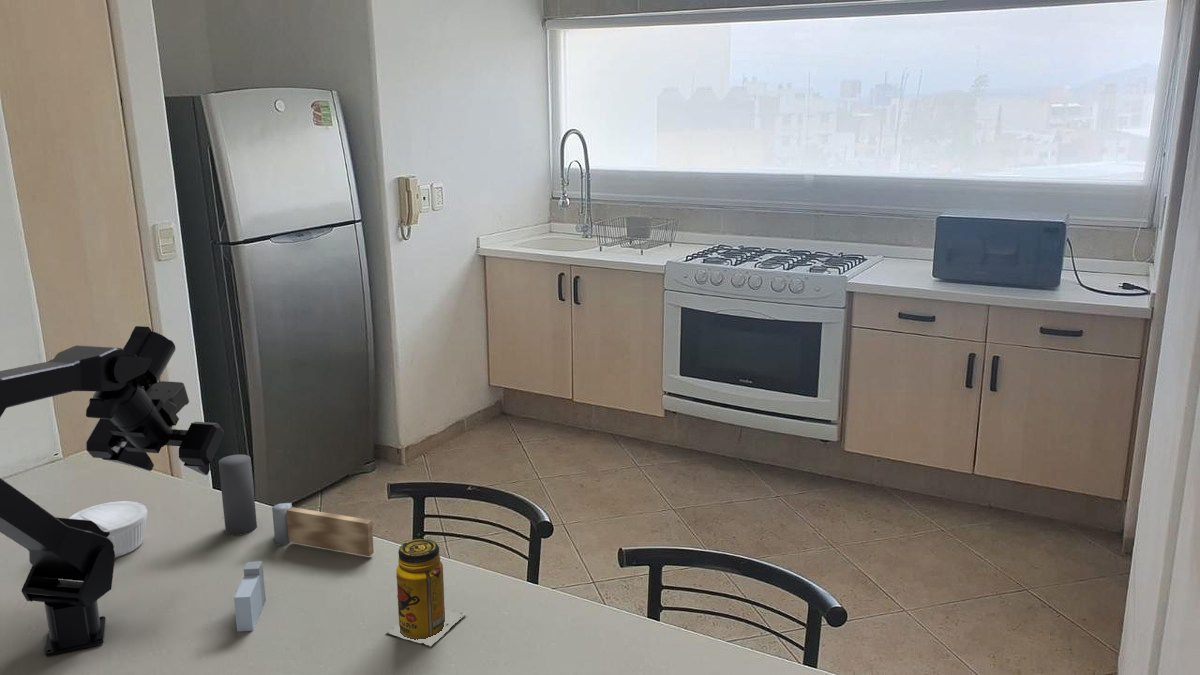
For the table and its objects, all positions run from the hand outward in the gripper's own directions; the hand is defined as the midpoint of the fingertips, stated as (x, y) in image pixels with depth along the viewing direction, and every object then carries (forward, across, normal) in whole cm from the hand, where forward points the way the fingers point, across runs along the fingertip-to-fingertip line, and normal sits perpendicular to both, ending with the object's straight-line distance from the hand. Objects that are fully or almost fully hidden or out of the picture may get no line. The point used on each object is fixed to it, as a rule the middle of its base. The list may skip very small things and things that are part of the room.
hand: (179, 470), depth 136 cm
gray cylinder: (+15, -5, +2) cm, 16 cm away
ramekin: (+10, +12, +9) cm, 18 cm away
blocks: (+7, -17, +12) cm, 22 cm away
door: (+12, -22, +5) cm, 26 cm away
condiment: (+2, -44, +20) cm, 48 cm away
